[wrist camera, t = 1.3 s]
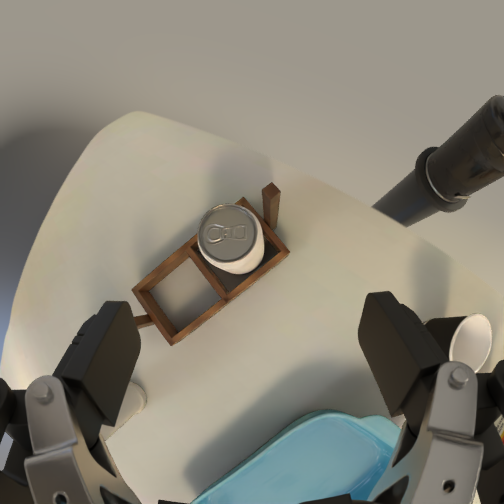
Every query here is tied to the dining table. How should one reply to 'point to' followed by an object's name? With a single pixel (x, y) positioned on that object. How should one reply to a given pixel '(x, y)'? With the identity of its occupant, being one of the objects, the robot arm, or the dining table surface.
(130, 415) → the bottle
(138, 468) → the dining table surface
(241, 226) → the can
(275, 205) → the frame
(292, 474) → the casserole dish
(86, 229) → the dining table surface
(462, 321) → the dixie cup
